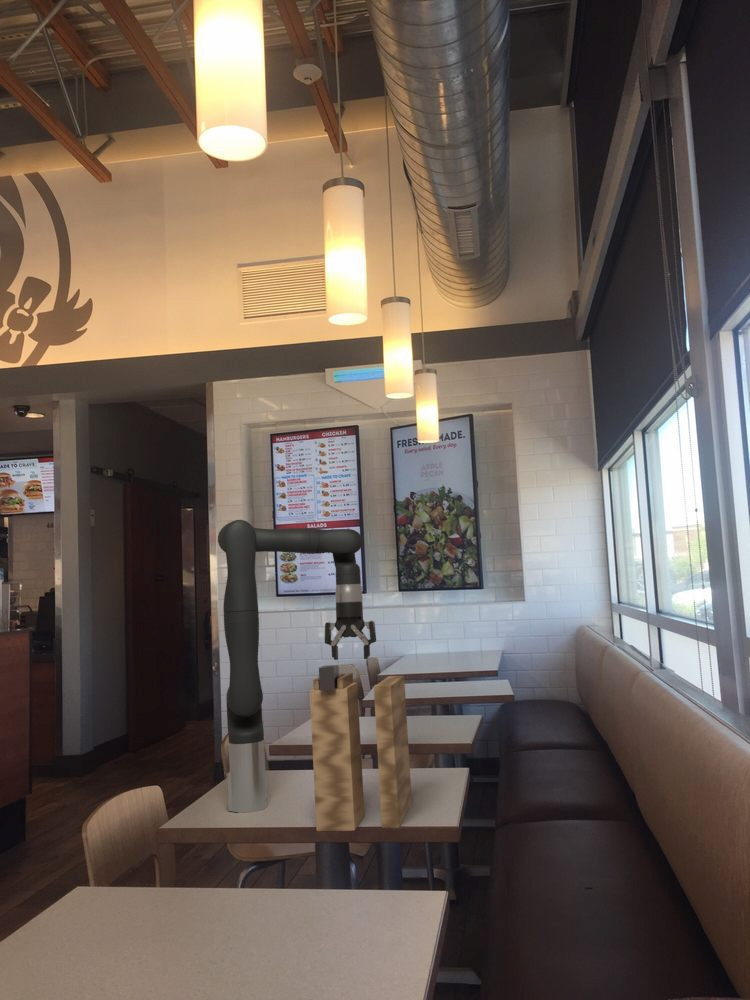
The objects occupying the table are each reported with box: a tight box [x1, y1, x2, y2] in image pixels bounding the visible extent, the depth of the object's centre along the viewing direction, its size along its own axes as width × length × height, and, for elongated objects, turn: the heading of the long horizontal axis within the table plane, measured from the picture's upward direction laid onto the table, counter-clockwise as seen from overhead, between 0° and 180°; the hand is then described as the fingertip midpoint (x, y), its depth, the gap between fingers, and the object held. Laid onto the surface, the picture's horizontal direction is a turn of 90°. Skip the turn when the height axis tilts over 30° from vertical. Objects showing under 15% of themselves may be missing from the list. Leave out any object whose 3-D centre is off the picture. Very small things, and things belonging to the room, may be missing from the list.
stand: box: [309, 673, 413, 832], centre depth 204 cm, size 19×24×34 cm
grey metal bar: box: [318, 663, 357, 690], centre depth 206 cm, size 25×4×5 cm, turn 170°
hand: (351, 659), depth 231 cm, fingers open, 8 cm apart
